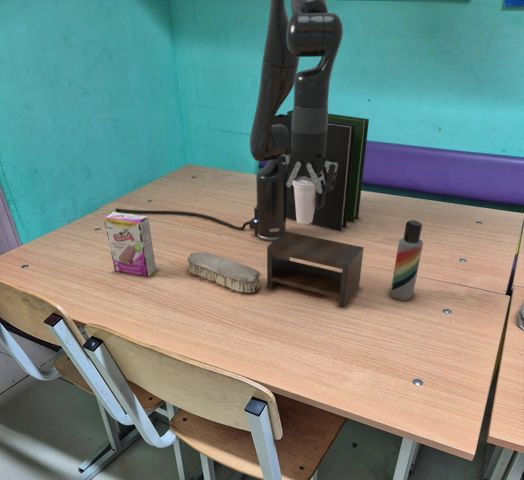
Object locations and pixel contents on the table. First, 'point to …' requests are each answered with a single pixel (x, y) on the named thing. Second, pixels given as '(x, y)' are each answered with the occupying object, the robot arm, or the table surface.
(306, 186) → the smoothie
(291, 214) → the binder
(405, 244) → the lotion bottle
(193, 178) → the table surface
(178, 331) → the table surface
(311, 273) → the box
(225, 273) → the shoe brush
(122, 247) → the candy bar box
